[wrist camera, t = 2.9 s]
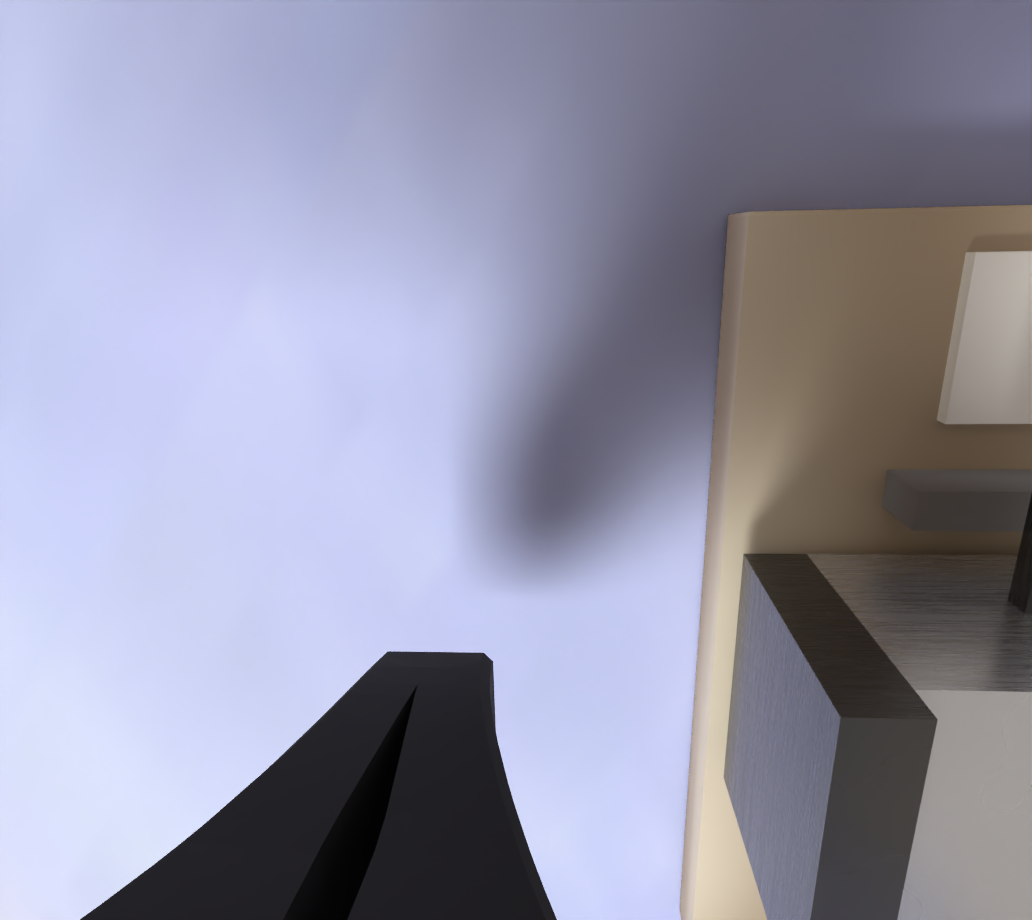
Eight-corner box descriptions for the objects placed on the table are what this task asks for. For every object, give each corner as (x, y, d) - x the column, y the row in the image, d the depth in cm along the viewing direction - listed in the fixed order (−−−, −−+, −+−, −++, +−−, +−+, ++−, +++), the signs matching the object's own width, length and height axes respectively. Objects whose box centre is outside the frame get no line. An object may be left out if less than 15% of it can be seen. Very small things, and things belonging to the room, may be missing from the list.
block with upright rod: (722, 776, 10) (796, 1013, 7) (764, 319, 8) (892, 368, 5) (1067, 786, 10) (1302, 1038, 7) (1200, 312, 8) (1628, 362, 5)
